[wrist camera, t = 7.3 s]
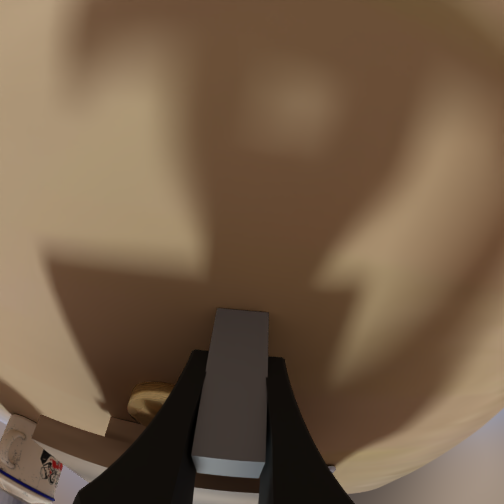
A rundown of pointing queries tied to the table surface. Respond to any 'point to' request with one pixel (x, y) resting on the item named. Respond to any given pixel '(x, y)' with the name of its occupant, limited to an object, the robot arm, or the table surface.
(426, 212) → the table surface
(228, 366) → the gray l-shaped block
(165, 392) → the token
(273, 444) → the robot arm
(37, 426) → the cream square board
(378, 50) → the table surface
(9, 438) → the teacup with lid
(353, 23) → the table surface
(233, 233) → the table surface
